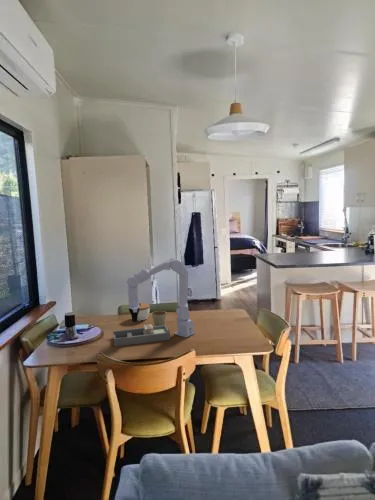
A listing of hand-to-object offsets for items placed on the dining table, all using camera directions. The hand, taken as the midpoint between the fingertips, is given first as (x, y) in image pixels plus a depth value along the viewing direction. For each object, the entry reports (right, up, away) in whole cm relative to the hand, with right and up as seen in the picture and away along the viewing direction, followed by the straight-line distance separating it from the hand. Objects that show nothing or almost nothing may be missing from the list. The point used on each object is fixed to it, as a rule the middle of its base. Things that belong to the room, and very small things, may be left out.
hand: (134, 321), depth 196 cm
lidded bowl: (-2, -6, +37) cm, 37 cm away
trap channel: (+4, -10, +2) cm, 11 cm away
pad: (+14, -9, +4) cm, 17 cm away
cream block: (+8, -7, +3) cm, 11 cm away
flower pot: (+12, -8, +21) cm, 25 cm away
